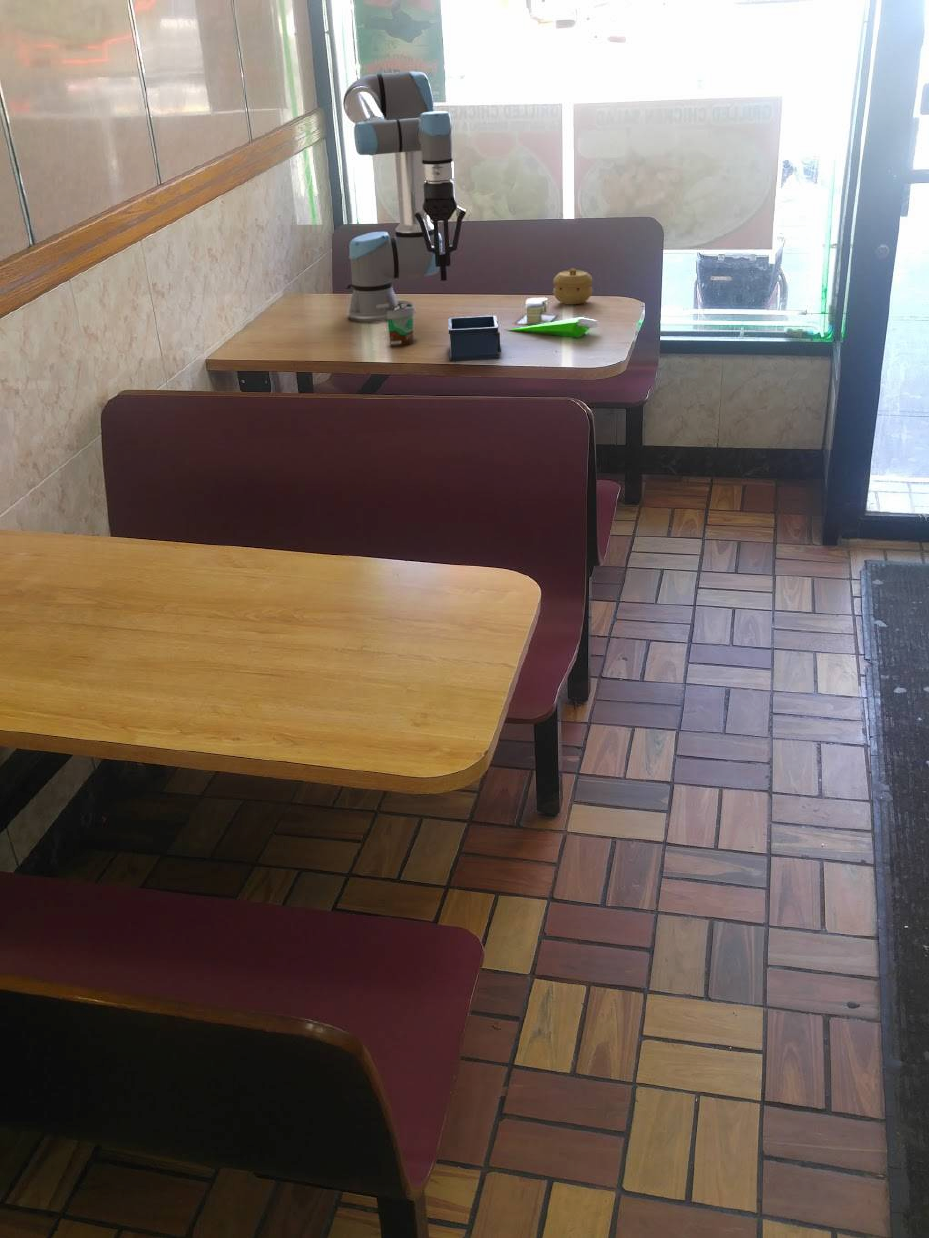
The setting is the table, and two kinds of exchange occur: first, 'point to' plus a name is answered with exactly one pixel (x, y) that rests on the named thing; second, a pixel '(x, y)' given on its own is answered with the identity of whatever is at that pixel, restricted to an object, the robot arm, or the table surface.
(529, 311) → the stacked layers on plate
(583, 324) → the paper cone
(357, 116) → the robot arm
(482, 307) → the table surface
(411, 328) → the food container
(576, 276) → the pot
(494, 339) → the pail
